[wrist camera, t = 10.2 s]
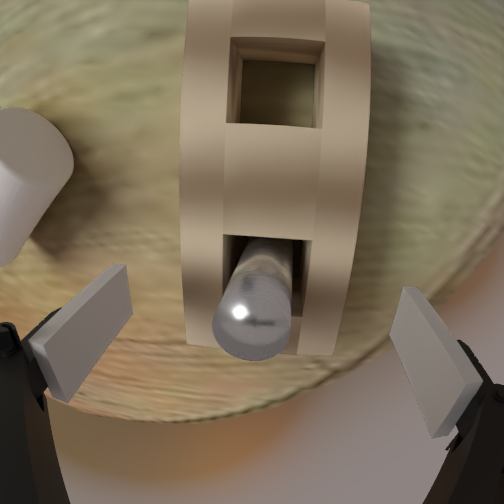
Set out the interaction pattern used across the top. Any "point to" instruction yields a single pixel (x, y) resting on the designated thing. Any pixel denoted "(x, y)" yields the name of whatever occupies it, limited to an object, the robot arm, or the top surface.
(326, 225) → the hole block
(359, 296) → the top surface
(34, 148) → the mug
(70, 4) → the top surface
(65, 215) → the top surface
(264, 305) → the peg
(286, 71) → the top surface
